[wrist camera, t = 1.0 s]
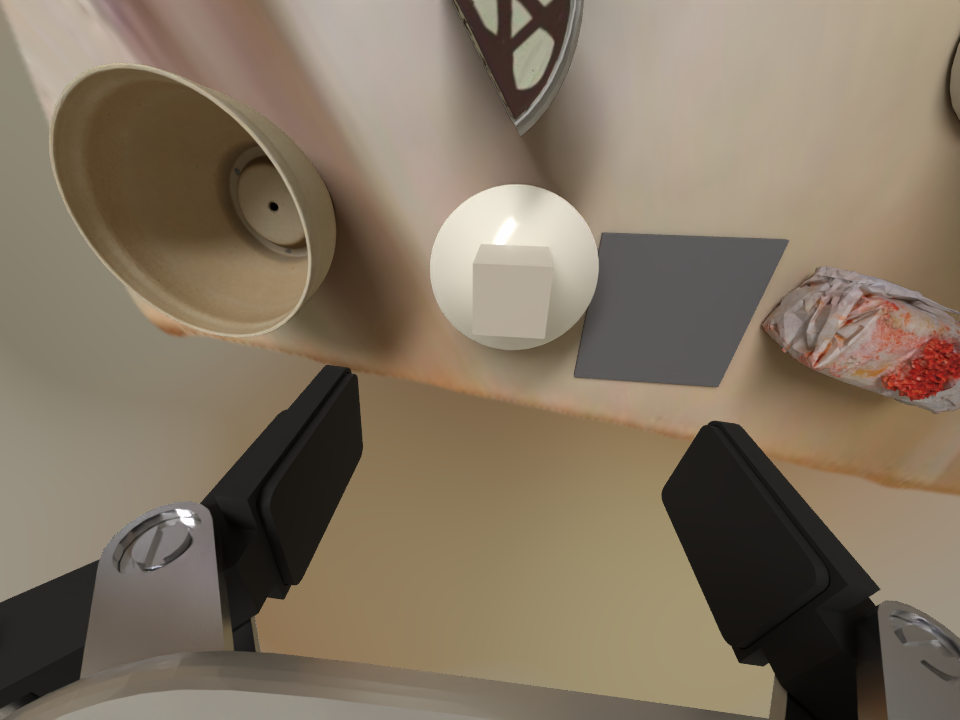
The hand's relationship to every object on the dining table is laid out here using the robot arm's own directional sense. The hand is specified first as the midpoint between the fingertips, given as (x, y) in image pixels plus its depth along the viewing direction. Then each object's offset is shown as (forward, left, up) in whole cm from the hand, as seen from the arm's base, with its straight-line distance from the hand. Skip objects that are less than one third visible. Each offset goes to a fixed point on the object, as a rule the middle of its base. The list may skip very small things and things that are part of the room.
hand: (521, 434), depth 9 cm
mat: (-14, +7, -25) cm, 30 cm away
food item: (-29, +6, -25) cm, 39 cm away
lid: (+1, +2, -20) cm, 20 cm away
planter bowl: (+22, -2, -25) cm, 33 cm away
